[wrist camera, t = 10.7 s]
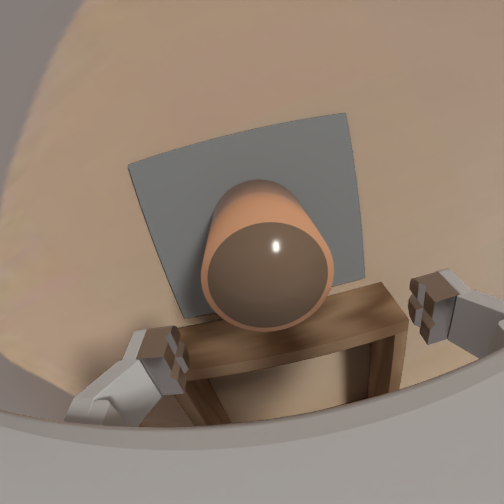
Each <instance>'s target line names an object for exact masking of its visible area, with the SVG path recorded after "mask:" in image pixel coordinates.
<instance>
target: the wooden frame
mask: <svg viewBox="0 0 504 504" xmlns="http://www.w3.org/2000/svg"><path fill="white" fill-rule="evenodd" d="M408 323H409V319H408V318H407V316H406V315H405V313H404V312H403V311H402V309H401V308H400V306H399V305H398V304H397V302H396V301H395V300H394V298H393V297H392V296H391V294H390V293H389V291H388V290H387V289H386V287H385V286H384V285H383V283H382V282H380V283H376V284H373V285H369V286H365V287H361V288H358V289H354V290H350V291H346V292H342V293H338V294H335V295H331V296H327V297H326V299H325V301H324V302H323V304H322V305H321V306H320V307H319V308H318V309H317V311H316V312H315V313H313V314H312V315H311V316H310V317H308V318H307V319H305V320H304V321H302V322H300V323H298V324H297V325H294V326H292V327H289V328H286V329H282V330H278V331H270V332H257V331H250V330H246V329H242V328H239V327H237V326H234V325H232V324H230V323H229V322H227V321H225V320H218V321H213V322H208V323H203V324H197V325H192V326H186V327H181V328H178V330H179V332H180V334H181V335H180V339H179V340H180V341H181V342H183V343H184V344H185V345H186V348H187V350H188V354H189V370H188V371H187V372H186V373H185V374H184V375H185V377H186V378H187V381H186V386H185V392H184V394H174V395H175V397H176V398H177V400H178V402H179V403H180V405H181V406H182V408H183V409H184V411H185V412H186V414H187V415H188V417H189V418H190V419H191V421H192V422H193V424H194V425H195V426H209V425H222V424H232V423H231V422H230V420H229V418H228V416H227V414H226V412H225V411H224V409H223V407H222V405H221V403H220V401H219V399H218V397H217V395H216V393H215V391H214V390H213V388H212V386H211V384H210V382H209V380H208V378H213V377H220V376H226V375H232V374H238V373H244V372H249V371H255V370H260V369H265V368H270V367H275V366H280V365H284V364H289V363H293V362H298V361H302V360H307V359H311V358H315V357H319V356H323V355H327V354H331V353H335V352H338V351H342V350H346V349H349V348H353V347H356V346H360V345H363V344H367V343H370V368H369V387H368V397H367V398H364V399H361V400H365V399H369V398H373V397H376V396H380V395H383V394H386V393H390V392H393V391H396V390H399V387H400V382H401V376H402V370H403V363H404V356H405V349H406V341H407V333H408ZM361 400H357V401H354V402H358V401H361ZM354 402H350V403H354ZM350 403H347V404H350ZM343 405H346V404H343ZM339 406H341V405H339ZM336 407H337V406H336ZM332 408H333V407H332Z"/></svg>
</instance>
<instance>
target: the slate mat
mask: <svg viewBox="0 0 504 504" xmlns="http://www.w3.org/2000/svg"><path fill="white" fill-rule="evenodd" d="M128 168H129V171H130V174H131V177H132V180H133V183H134V186H135V190H136V193H137V196H138V199H139V202H140V205H141V207H142V210H143V213H144V216H145V219H146V222H147V225H148V227H149V230H150V233H151V236H152V238H153V241H154V244H155V247H156V249H157V252H158V254H159V257H160V260H161V262H162V265H163V267H164V270H165V273H166V275H167V278H168V280H169V283H170V285H171V287H172V290H173V292H174V295H175V297H176V300H177V302H178V304H179V307H180V309H181V311H182V314H183V316H184V318H190V317H195V316H200V315H205V314H211V313H216V312H215V311H214V310H213V309H212V308H211V306H210V305H209V303H208V302H207V300H206V297H205V295H204V293H203V289H202V284H201V269H202V263H203V258H204V254H205V249H206V244H207V239H208V235H209V230H210V226H211V221H212V216H213V212H214V209H215V207H216V205H217V203H218V201H219V200H220V198H221V197H222V196H223V195H224V194H225V193H226V192H227V191H228V190H229V189H231V188H232V187H234V186H235V185H237V184H240V183H242V182H245V181H249V180H258V179H261V180H269V181H273V182H276V183H278V184H280V185H282V186H284V187H285V188H287V189H288V190H289V191H290V192H292V193H293V194H294V196H295V197H296V198H297V200H298V201H299V203H300V204H301V206H302V207H303V209H304V210H305V212H306V213H307V215H308V216H309V218H310V219H311V221H312V222H313V224H314V225H315V227H316V228H317V230H318V231H319V233H320V234H321V236H322V237H323V239H324V240H325V242H326V244H327V246H328V247H329V249H330V252H331V255H332V258H333V263H334V277H333V282H332V286H336V285H340V284H343V283H347V282H351V281H355V280H359V279H363V278H365V266H364V250H363V236H362V225H361V214H360V205H359V196H358V187H357V179H356V172H355V165H354V158H353V151H352V145H351V139H350V133H349V127H348V121H347V116H346V113H340V114H333V115H326V116H320V117H314V118H308V119H302V120H296V121H291V122H286V123H281V124H276V125H271V126H266V127H261V128H256V129H252V130H248V131H243V132H239V133H235V134H231V135H227V136H223V137H219V138H215V139H211V140H207V141H203V142H200V143H196V144H192V145H189V146H185V147H182V148H179V149H175V150H172V151H169V152H165V153H162V154H159V155H156V156H153V157H150V158H147V159H144V160H141V161H138V162H135V163H132V164H129V165H128ZM332 286H331V287H332Z"/></svg>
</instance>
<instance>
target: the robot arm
mask: <svg viewBox="0 0 504 504" xmlns="http://www.w3.org/2000/svg"><path fill="white" fill-rule="evenodd" d="M410 290H411V292H412V293H413V294H412V295H411V297H410V298H409V302H408V309H409V315H410V318H411V320H412V322H413V323H414V325H416V326H419V327H420V334H421V336H422V337H423V339H424V340H425V342H426V344H427V345H429V344H432V343H435V342H438V341H441V340H445V339H448V340H449V341H451V342H452V343H454V344H456V345H458V346H459V347H461V348H463V349H464V350H466V351H468V352H469V353H471V354H473V355H474V356H476V357H477V358H479V359H478V360H476V361H473V362H471V363H469V364H467V365H464V366H462V367H460V368H457V369H455V370H452V371H450V372H447V373H445V374H442V375H440V376H437V377H434V378H432V379H429V380H426V381H423V382H420V383H418V384H415V385H412V386H409V387H406V388H403V389H399V390H396V391H393V392H390V393H386V394H383V395H380V396H376V397H373V398H369V399H365V400H361V401H358V402H354V403H350V404H346V405H341V406H337V407H333V408H328V409H324V410H319V411H314V412H309V413H304V414H298V415H292V416H286V417H280V418H274V419H267V420H259V421H251V422H243V423H233V424H222V425H209V426H191V427H138V425H140V423H141V422H142V421H143V420H144V418H145V417H146V416H147V415H148V413H149V412H150V411H151V410H152V408H153V407H154V406H155V405H156V403H157V402H158V401H159V400H160V398H161V397H162V395H174V394H184V392H185V386H186V381H187V378H186V377H185V375H184V374H185V373H186V372H187V371H188V370H189V354H188V350H187V348H186V345H185V344H184V343H183V342H181V341H180V340H179V339H180V335H181V334H180V332H179V330H178V328H177V327H176V326H166V327H157V328H149V329H140V330H136V331H134V333H133V335H132V337H131V340H130V342H129V345H128V347H127V349H126V352H125V354H124V357H123V359H122V361H118V362H116V363H115V364H114V365H113V366H112V367H110V368H109V369H108V370H107V371H106V372H104V373H103V374H102V375H101V376H99V377H98V378H97V379H96V380H95V381H93V382H92V383H91V384H90V385H89V386H87V387H86V388H85V389H84V390H83V391H81V392H80V393H79V394H78V395H77V396H75V397H74V399H73V401H72V403H71V406H70V408H69V410H68V412H67V415H66V417H65V419H64V421H56V420H49V419H43V418H37V417H32V416H26V415H21V414H16V413H11V412H7V411H3V410H0V504H504V300H503V299H500V298H497V297H494V296H491V295H489V294H486V293H483V292H480V291H477V290H473V291H471V290H470V289H469V288H468V287H467V286H466V285H465V284H464V283H463V282H462V281H461V280H460V279H459V278H458V277H457V276H456V275H455V274H454V273H453V272H452V271H451V270H450V269H448V268H446V269H442V270H439V271H436V272H434V273H431V274H427V275H423V276H420V277H416V278H412V279H411V282H410Z"/></svg>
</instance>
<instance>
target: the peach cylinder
mask: <svg viewBox="0 0 504 504" xmlns="http://www.w3.org/2000/svg"><path fill="white" fill-rule="evenodd" d="M333 277H334V263H333V258H332V255H331V252H330V249H329V247H328V246H327V244H326V242H325V240H324V239H323V237H322V236H321V234H320V233H319V231H318V230H317V228H316V227H315V225H314V224H313V222H312V221H311V219H310V218H309V216H308V215H307V213H306V212H305V210H304V209H303V207H302V206H301V204H300V203H299V201H298V200H297V198H296V197H295V196H294V194H293V193H292V192H290V191H289V190H288V189H287V188H285V187H284V186H282V185H280V184H278V183H276V182H273V181H269V180H261V179H258V180H249V181H245V182H242V183H240V184H237V185H235V186H234V187H232V188H231V189H229V190H228V191H227V192H226V193H225V194H224V195H223V196H222V197H221V198H220V200H219V201H218V203H217V205H216V207H215V209H214V212H213V216H212V221H211V226H210V230H209V235H208V239H207V244H206V249H205V254H204V258H203V263H202V269H201V284H202V289H203V293H204V295H205V297H206V300H207V302H208V303H209V305H210V306H211V308H212V309H213V310H214V311H215V312H216V313H217V314H218V315H219V316H220V317H221V318H223V319H224V320H225V321H227V322H229V323H230V324H232V325H234V326H237V327H239V328H242V329H246V330H250V331H257V332H270V331H278V330H282V329H286V328H289V327H292V326H294V325H297V324H298V323H300V322H302V321H304V320H305V319H307V318H308V317H310V316H311V315H312V314H313V313H315V312H316V311H317V309H318V308H319V307H320V306H321V305H322V304H323V302H324V301H325V299H326V297H327V296H328V294H329V292H330V289H331V286H332V282H333Z"/></svg>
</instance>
